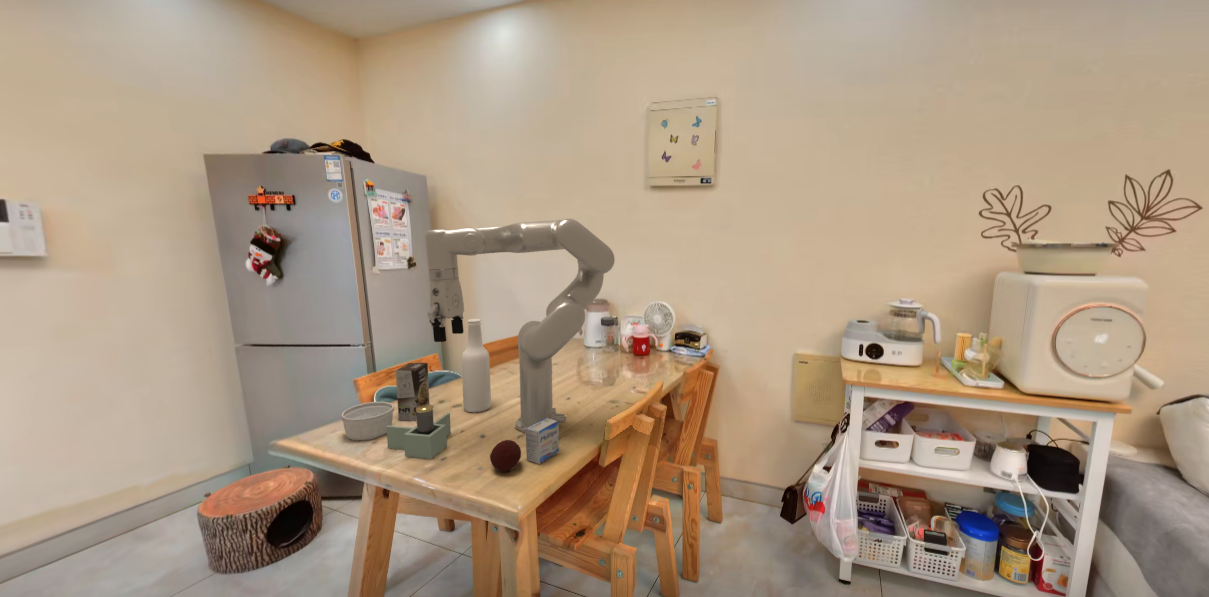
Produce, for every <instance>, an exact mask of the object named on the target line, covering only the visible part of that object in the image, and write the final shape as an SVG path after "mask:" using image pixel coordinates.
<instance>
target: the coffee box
mask: <svg viewBox="0 0 1209 597" xmlns="http://www.w3.org/2000/svg"><path fill="white" fill-rule="evenodd" d="M395 376H396V377H395V378H396V379H395V380H396V382H395V383H396V398H397V401H396V402H397V416H398V417H397V418H398V421H416V422H417V415H416V408H417V407H418V406H421V405H431V404H430V390H429V389H430V387H429V386H430V385H429V366H428V362H409V363H407V364H405V365H403V366H402V367H399V368H398V369H396V370H395Z"/></svg>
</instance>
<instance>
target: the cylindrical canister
mask: <svg viewBox="0 0 1209 597" xmlns="http://www.w3.org/2000/svg"><path fill="white" fill-rule="evenodd" d="M416 415H417V421H416V426H417V433H418V434H424V435H429V434H431V433H432V432H433V431H434V422H435V421H434V406H433V405H432V404H430V405H421V406H418V407H417V408H416Z"/></svg>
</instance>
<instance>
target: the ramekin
mask: <svg viewBox="0 0 1209 597" xmlns="http://www.w3.org/2000/svg"><path fill="white" fill-rule="evenodd" d="M394 410H395V409H394V404H393V403H391V402H387V401H371V402H365V403H360V404H357V405H353V406H351V407H349V408H347V409H345V410H343V412H342V413H341V418H340V419H341V421H342V422H343V423H342V424H343V428H344V432H345V435H346V437H347V438H349V439H350V440H353V441H358V440H361V441H368V440H369V441H370V440H373V439H377V438H380V437H383V436H384V435H387V428H386V427H387V426H388V425H389V426H393V416H394Z"/></svg>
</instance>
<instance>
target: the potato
mask: <svg viewBox="0 0 1209 597" xmlns="http://www.w3.org/2000/svg"><path fill="white" fill-rule="evenodd" d="M521 457H522V450H521V447H520V445H519V444H518V443H517V442H516V441H514V440H512V439H504V440H501V441H500V442H498V443H496V445H495V446H494V447H493V448H492V449H491V452H490V455H489V460H490V463H491V465H492V466H493V468H495V469H496V470H497V471H498V472H501V473H506V472H509V471H511V470H513V469H514V468H515V467H516V466H517V465H518V464H519V461H520V460H521Z"/></svg>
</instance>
